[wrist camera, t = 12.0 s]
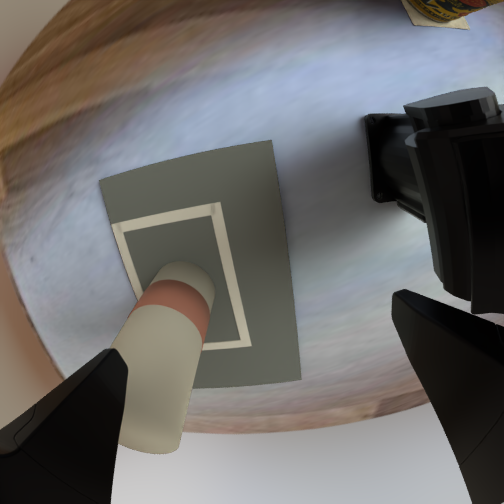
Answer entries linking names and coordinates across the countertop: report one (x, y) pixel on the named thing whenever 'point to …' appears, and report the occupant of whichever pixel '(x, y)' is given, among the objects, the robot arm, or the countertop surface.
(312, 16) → the countertop surface
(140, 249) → the mat
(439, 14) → the condiment
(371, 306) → the countertop surface
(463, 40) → the countertop surface
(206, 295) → the player figure
